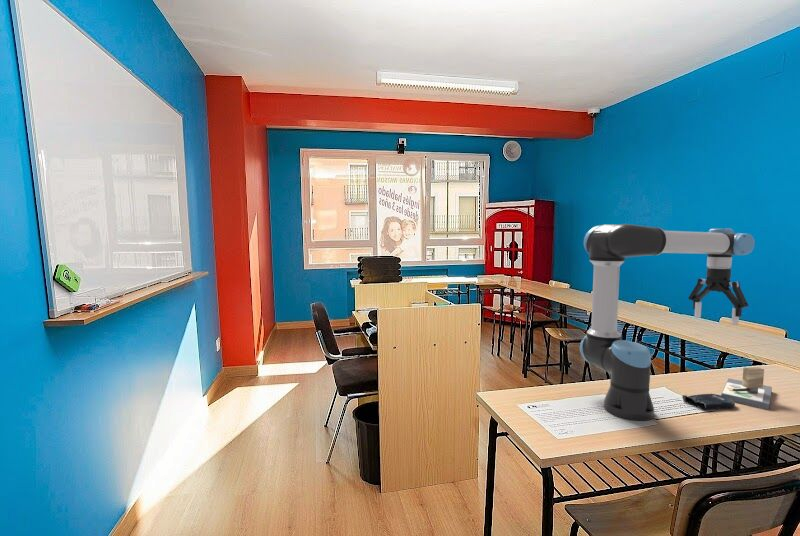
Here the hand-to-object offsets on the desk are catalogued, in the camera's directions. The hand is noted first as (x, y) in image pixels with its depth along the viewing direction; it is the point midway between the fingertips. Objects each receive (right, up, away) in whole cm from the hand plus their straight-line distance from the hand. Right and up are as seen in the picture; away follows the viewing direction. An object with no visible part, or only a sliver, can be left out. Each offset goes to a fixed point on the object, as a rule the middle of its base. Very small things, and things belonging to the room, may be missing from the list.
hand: (715, 321), depth 156 cm
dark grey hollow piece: (-14, -29, -15) cm, 35 cm away
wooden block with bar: (+4, -25, -9) cm, 27 cm away
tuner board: (+7, -27, -7) cm, 29 cm away
